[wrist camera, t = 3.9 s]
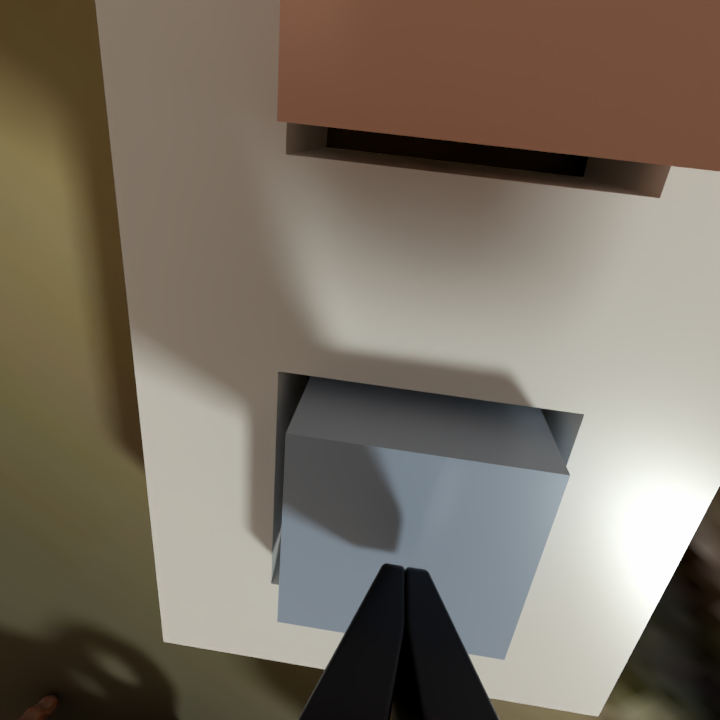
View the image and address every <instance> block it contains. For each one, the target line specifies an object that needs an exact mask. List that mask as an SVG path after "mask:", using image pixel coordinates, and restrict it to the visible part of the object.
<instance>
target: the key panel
mask: <svg viewBox="0 0 720 720" xmlns="http://www.w3.org/2000/svg"><path fill="white" fill-rule="evenodd" d="M95 6H96V15H97V24H98V34H99V43H100V52H101V62H102V71H103V80H104V90H105V99H106V108H107V118H108V127H109V136H110V146H111V155H112V164H113V174H114V183H115V193H116V202H117V211H118V221H119V230H120V239H121V249H122V258H123V267H124V277H125V286H126V295H127V305H128V314H129V323H130V333H131V342H132V351H133V361H134V370H135V379H136V389H137V398H138V408H139V417H140V426H141V436H142V445H143V454H144V464H145V473H146V482H147V492H148V501H149V510H150V520H151V529H152V538H153V548H154V557H155V566H156V576H157V585H158V594H159V604H160V613H161V623H162V632H163V641H164V642H168V643H174V644H180V645H185V646H191V647H197V648H203V649H209V650H214V651H220V652H226V653H232V654H238V655H243V656H249V657H255V658H261V659H267V660H272V661H278V662H284V663H290V664H296V665H301V666H307V667H313V668H319V669H326V667H327V665H328V663H329V661H330V659H331V658H332V656H333V654H334V652H335V650H336V648H337V647H338V645H339V643H340V641H341V639H342V637H343V636H344V634H345V633H341V632H335V631H329V630H323V629H317V628H311V627H305V626H299V625H293V624H287V623H281V622H277V618H278V595H279V573H280V550H281V527H282V504H283V481H284V459H285V436H286V431H287V429H288V427H289V425H290V422H291V420H292V418H293V415H294V413H295V411H296V409H297V406H298V404H299V402H300V399H301V397H302V395H303V393H304V390H305V388H306V386H307V383H308V381H309V379H310V377H311V376H315V377H322V378H329V379H336V380H343V381H350V382H358V383H365V384H372V385H379V386H386V387H393V388H400V389H407V390H414V391H421V392H429V393H436V394H443V395H450V396H457V397H464V398H471V399H478V400H485V401H493V402H500V403H507V404H514V405H521V406H528V407H535V408H541V411H542V413H543V415H544V417H545V420H546V422H547V424H548V426H549V429H550V431H551V433H552V435H553V438H554V440H555V442H556V444H557V447H558V449H559V451H560V454H561V456H562V458H563V460H564V463H565V465H566V467H567V469H568V472H569V474H570V477H569V480H568V483H567V486H566V489H565V491H564V494H563V497H562V500H561V503H560V505H559V508H558V511H557V514H556V517H555V519H554V522H553V525H552V528H551V531H550V533H549V536H548V539H547V542H546V545H545V547H544V550H543V553H542V556H541V559H540V561H539V564H538V567H537V570H536V573H535V575H534V578H533V581H532V584H531V587H530V589H529V592H528V595H527V598H526V601H525V603H524V606H523V609H522V612H521V615H520V617H519V620H518V623H517V626H516V629H515V631H514V634H513V637H512V640H511V643H510V645H509V648H508V651H507V654H506V657H505V660H501V659H496V658H490V657H484V656H478V655H472V654H468V655H469V657H470V659H471V661H472V663H473V665H474V668H475V670H476V672H477V674H478V676H479V678H480V680H481V682H482V684H483V686H484V688H485V690H486V693H487V695H488V697H489V698H493V699H499V700H504V701H510V702H516V703H522V704H528V705H533V706H539V707H545V708H551V709H557V710H562V711H568V712H574V713H580V714H586V715H591V716H597V717H598V716H599V714H600V712H601V710H602V708H603V706H604V705H605V703H606V701H607V699H608V697H609V695H610V693H611V691H612V689H613V687H614V686H615V684H616V682H617V680H618V678H619V676H620V674H621V672H622V670H623V668H624V667H625V665H626V663H627V661H628V659H629V657H630V655H631V653H632V651H633V649H634V648H635V646H636V644H637V642H638V640H639V638H640V636H641V634H642V632H643V630H644V629H645V627H646V625H647V623H648V621H649V619H650V617H651V615H652V613H653V611H654V610H655V608H656V606H657V604H658V602H659V600H660V598H661V596H662V594H663V592H664V591H665V589H666V587H667V585H668V583H669V581H670V579H671V577H672V575H673V573H674V572H675V570H676V568H677V566H678V564H679V562H680V560H681V558H682V556H683V554H684V553H685V551H686V549H687V547H688V545H689V543H690V541H691V539H692V537H693V535H694V534H695V532H696V530H697V528H698V526H699V524H700V522H701V520H702V518H703V516H704V515H705V513H706V511H707V509H708V507H709V505H710V503H711V501H712V499H713V497H714V496H715V494H716V492H717V490H718V488H719V486H720V171H711V170H702V169H693V168H684V167H676V166H667V165H658V164H649V163H640V162H632V161H623V160H614V159H605V158H596V157H588V161H587V164H586V168H585V171H584V175H583V177H579V176H570V175H562V174H553V173H545V172H536V171H527V170H519V169H510V168H501V167H493V166H484V165H475V164H467V163H458V162H450V161H441V160H432V159H424V158H415V157H406V156H398V155H389V154H380V153H372V152H363V151H355V150H346V149H337V148H329V147H327V132H328V127H323V126H315V125H306V124H297V123H288V122H279V121H277V104H278V66H279V28H280V0H95Z"/></svg>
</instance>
